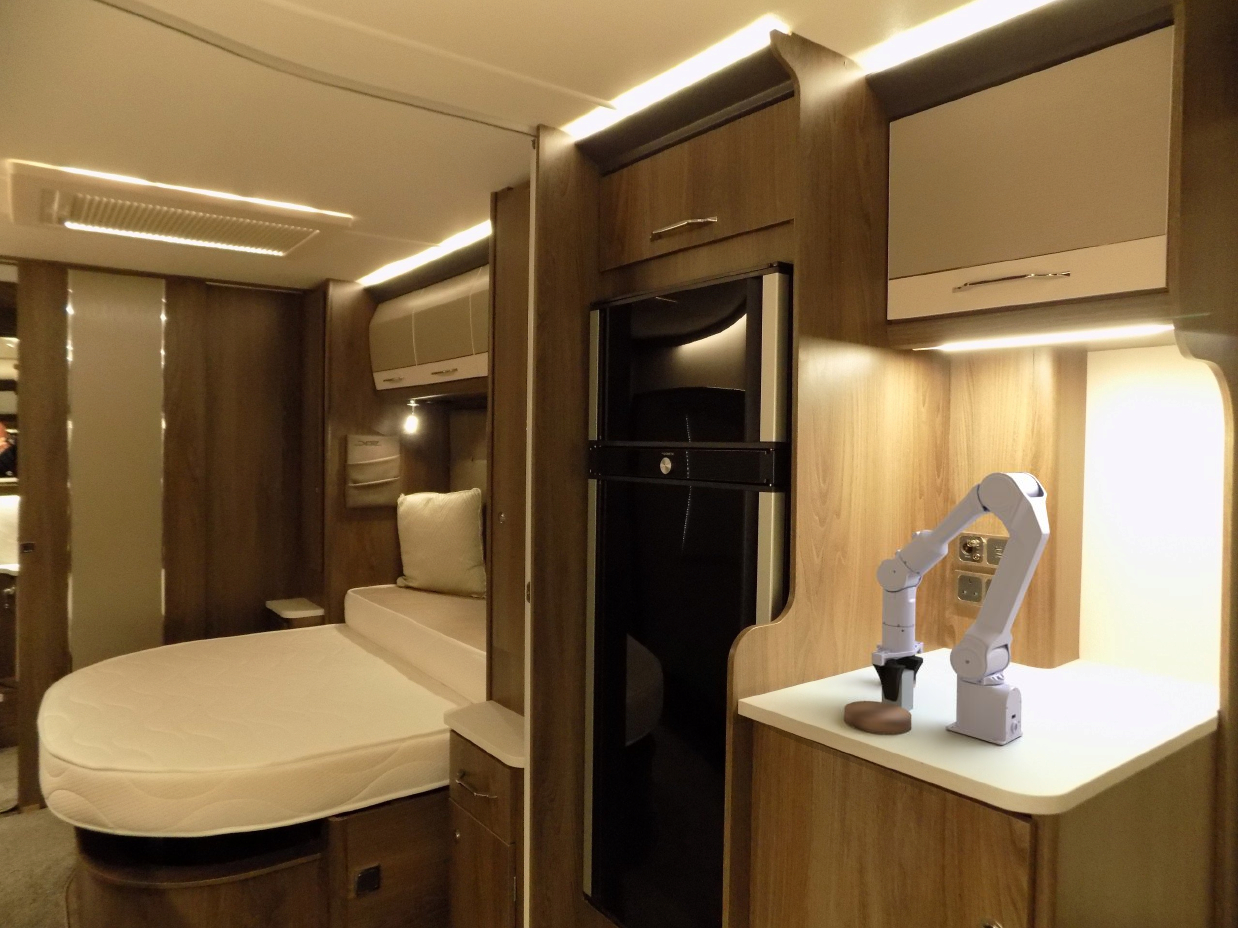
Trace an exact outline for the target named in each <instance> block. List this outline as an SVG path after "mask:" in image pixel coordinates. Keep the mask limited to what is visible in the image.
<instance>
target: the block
mask: <svg viewBox="0 0 1238 928" xmlns="http://www.w3.org/2000/svg"><path fill="white" fill-rule="evenodd" d="M913 681H914V671H913V670H909V669H904V671H903V674H902V676H901V680H900V685H899V694H898V698H897V701H895V702H894V701H890V700H886V699H885V697H884V693H883V689H882V688H881V702H883V703H889V704H893V705H896V706H899V707H902V708H904V709H906V710H908V711H911V710H913V709H914V687H913Z"/></svg>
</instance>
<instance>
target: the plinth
mask: <svg viewBox="0 0 1238 928" xmlns="http://www.w3.org/2000/svg"><path fill="white" fill-rule="evenodd" d="M843 710H844V715H843V716H844V722H845V723H846V724H847V726H849V727H851V728H853V729H856V730H858V731H862V732H865V733H871V734H876V735H891V736H892V735H901V734H905V733H907V732H908V733H909V732H910V730H912V715H913V714H912V713H911V712H910V710H906V709H904V708H902V707H899V706H896V705H893V704H889V703H883V702H882V701H874V700H867V701H866V700H860V701H859V700H858V701H853V702H850V703H847V704H846V705H845V706H844V709H843Z"/></svg>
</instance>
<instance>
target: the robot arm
mask: <svg viewBox="0 0 1238 928" xmlns="http://www.w3.org/2000/svg"><path fill="white" fill-rule="evenodd" d="M1047 495H1048V493H1047V492H1046V490H1045V488H1044V487H1043V486H1042V484H1041V483H1040V482H1039V480H1038V478H1037V477H1035V476H1034V475H1033V474H1031V473H1028V472H1025V471H1017V472H1016V471H1015V472H1009V473H1008V472H1001V471H1000V472H998V471H996V472H992V473H989V474H988V475H986V476H985V477H984V478H983V479H982V480H981V482H980V483H977V484H975V485H974V486H973V487H972V488H971V489H970V490H969V491H968V493H967V494H966V495H965V496H964V497H963V498H962V499H961V500H960V501H959V503H957V504H956V506H955V507H954V508H953V509H952V510H951V511H949V513H948V514H947V515H946V516H945V517H944V518H943V519H942V520H941V521H940V522H939V523H938V524H937V525H936V526H935V528H933V529H931V530H930V529H923V530H921V531H914V532H913V534H912V535H910V537H911V538H912V540H910V541H909V542H908V543H907V544H906V545H905V546H904V547H903V548H902V549H898V550H896V551H895V552H894V558H885V559H882V561H881V563H880V564H879V565H878V567H877V569H876V579H877V582H878V583H879V585H880V586H881V588H882V597H881V598H882V600H881V602H882V603H881V604H882V608H881V610H882V612H881V613H882V614H881V615H882V616H881V642H878V643H876V645H875V646H876V648H877V649H876V650H875V651H873V652H871V664H872V667H874V669H875V671H876V674H877V676H878V678H879V681H880V684H881V690H882V689H883V693H884V697H885V699H886V700H890V701H894V702H895V701H897V698H898V694H899V685H900V680H901V676H902V674H903V671H904V669H909V670H913V671H914V680H915V677H916V678H917V674H918V672H919V670H920V668H921V667H922V665H923V663H924V658H923V657H922V656H917V654H923V653H924V642H921V641H917V640H916V599H917V598H916V597H917V588H918V587H919V585H920V584H921V583H922V581H923V576H924V575H925V574H926V573H928V571H930V570H931V569H932V568H933V567H934V566H935V565H936V564H938V562H940V561H941V560H942V559H943V558H945V556H947V555H948V551H949V543H950V542H951V541H952V540H954V539H955V538H956V537H957V536H959V535H960V534H962V532H964V531H965V530H966V529H967V528H968V527H970V526H971V525H972V524H974V522H976V521H977V520H978V519H980V518H981V517H982V516H984V515H990V514H993V515H994V516H995V517H996V518H997V519H998V520H999V521H1001V523H1002V525H1003V526H1004V528H1005V529H1006V531H1007V533H1008V535H1009V537H1008V539H1007V541H1006V544H1005V547H1004V549H1003V551H1002V553H1001V557H1000V559H999V562H998V564H997V567H996V570H995V571H994V574H993V576H992V579H991V581H990V584H989V587H988V589H987V592H986V594H985V596H984V600H983V601H982V604H981V607H980V609H979V611H978V614H977V616H976V619H975V621H974V622H973V624H971V625H970V627H968V629H967V630H966V631H965V633H964V634H963V637H962V639H961V640H960V642H959V643H956V644H955V646H953V647H952V649H951V651H950V654H949V661H950V665H951V668H952V671H954V673H955V675H956V709H955V710H956V711H955V713H956V714H955V715H956V716H955V717H956V718H955V721H953V722H952V723H950V724H947V725H946V726H945V729H946V730H948V731H952V732H955V733H959V734H962V735H966V736H969V737H973V738H976V739H979V740H982V741H986V742H989V743H992V744H997V745H1000V746H1004V745H1005V744H1008V743H1010V742H1012V741H1013V740H1015V739H1017V738H1018V737H1020V736H1022V735H1023V734H1024V732H1023V731H1022V694H1021V691H1020V689H1019V688H1018V687H1017V686H1014V685H1011V684H1009V683H1007V682H1006V681H1005V675H1004V670H1006V669H1007V668H1008V667H1009V665H1010V663H1011V659H1012V654H1011V645H1012V643H1013V640H1014V638H1013V635H1012V633H1011V629H1012V626H1013V624H1014V621H1015V620H1016V617H1017V614H1018V613H1019V609H1020V608H1021V605H1022V602H1023V600H1024V597H1025V595H1026V593H1027V591H1028V587H1030V586H1029V585H1030V584H1031V581H1032V578H1033V576H1034V573H1035V571H1036V569H1037V566H1038V564H1039V562H1040V559H1041V558H1042V557H1041V556H1042V555H1043V552H1044V551H1045V547H1046V545H1047V543H1048V540H1049V538H1050V533H1051V531H1050V530H1051V529H1050V524H1049V517H1048V512H1047V506H1046V499H1047ZM915 654H916V656H915ZM913 683H914V681H913Z"/></svg>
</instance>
